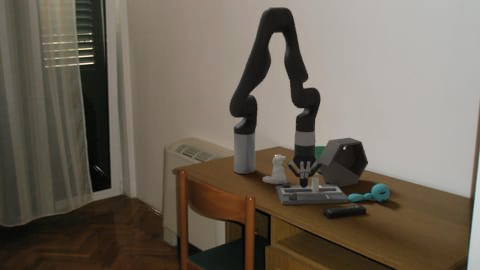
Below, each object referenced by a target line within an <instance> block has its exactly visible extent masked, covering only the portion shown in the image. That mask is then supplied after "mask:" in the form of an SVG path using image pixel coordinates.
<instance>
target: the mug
mask: <svg viewBox="0 0 480 270" xmlns="http://www.w3.org/2000/svg"><path fill="white" fill-rule="evenodd" d="M325 147H326V145H319V146H318V145H315V158H316V161H318V159H319V157H320V155H321V154H322V152H323V150H324V148H325ZM313 167H314V164H313V166H312V168H313ZM316 173H318V174H319V173H321V170H320V168H319V169H318V171H317V172H316ZM321 174H322V173H321Z"/></svg>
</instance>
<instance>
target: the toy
mask: <svg viewBox="0 0 480 270" xmlns="http://www.w3.org/2000/svg"><path fill="white" fill-rule="evenodd" d="M390 194H391V193H390V189H389V186H387V185H386V184H385V183H377V184H375V185H373V186H372V187H371V192H368V193H365V194H359V193H351V194H349V195H348V197H347V198H348V202H352V203H356V202H359V201H362V200H370V199H372V198H373V199H374V200H375V201H377V202H378V203H381V202H384V201H387V200H388V199H389V197H390Z"/></svg>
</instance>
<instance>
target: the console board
mask: <svg viewBox="0 0 480 270" xmlns="http://www.w3.org/2000/svg"><path fill="white" fill-rule="evenodd" d="M291 184H292V182H291V181H289V180H286V181H283V184H282V185H275V191H276V193H277V195H278V198H279V201H280V203H281V205H285V206H287V205H313V204H316V205H317V204H344V203H346V204H348V202H349V200H348V197H347V195H346V194H345V193H344V191H343V190H342V189H341V187H338V186H337V184H329V183H327V184H319V192H313V191H312V190H311V189H312V184H308V186H306V188H302V187H301V186H300V184H297V185H291Z"/></svg>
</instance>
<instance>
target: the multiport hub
mask: <svg viewBox="0 0 480 270" xmlns="http://www.w3.org/2000/svg"><path fill="white" fill-rule="evenodd" d="M361 214H363V215H366V214H367V208H366V206H363V205H361V204H354V205H353V204H352V205H345V206H337V207H331V208H324V209H322V215H323V216H324V217H325V218H327V220H332V219H338V218H339V219H340V218H346V217H354V216H355V215H356V216H362V215H361Z"/></svg>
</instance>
